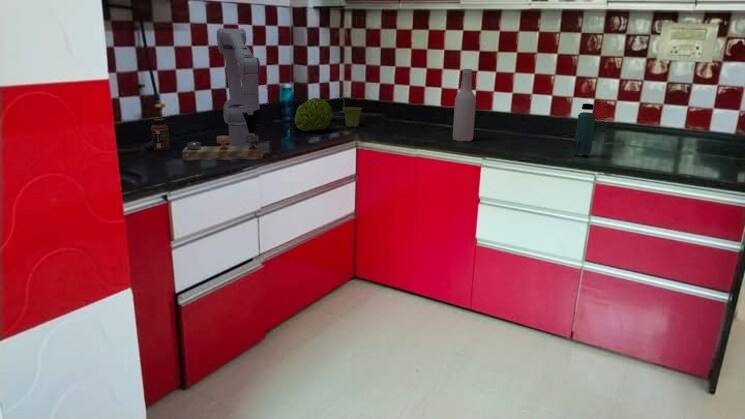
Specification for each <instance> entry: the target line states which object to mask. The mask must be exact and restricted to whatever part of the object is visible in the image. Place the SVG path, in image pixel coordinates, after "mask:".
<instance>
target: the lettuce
mask: <svg viewBox="0 0 745 419" xmlns="http://www.w3.org/2000/svg"><path fill="white" fill-rule="evenodd" d="M332 118H333V112H332V107H331V105H330V104H329V103H328V101H326V100H323V99H321V98H319V97H313V98H312V97H311V98H310V99H308V100H306V101H305V102H303V103H300V105H299V106H298V108H296V112H295V116H294V124H295V126H296V128H297V129H299V130H301V131H302V132H304V131H305V132H310V131H311V132H318V131H321V130H325V129H327V127H329V124H330V123H331V120H332Z"/></svg>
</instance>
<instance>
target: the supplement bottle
mask: <svg viewBox="0 0 745 419" xmlns="http://www.w3.org/2000/svg"><path fill="white" fill-rule="evenodd" d="M152 122H153V124H152V125H151V128H150V130H151V142H152V143H151V144H152V149H153V150H154V151H168V150H170V148H171V146H170V145H171V144H170V143H171V142H170V134H169V133H170V132H169V131H170V130H169V126H168V124H166V119H165V118H154V119H153V121H152Z"/></svg>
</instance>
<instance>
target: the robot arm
mask: <svg viewBox="0 0 745 419" xmlns="http://www.w3.org/2000/svg"><path fill="white" fill-rule="evenodd" d="M245 30H246V29H245ZM245 30H244V28H221V27H219V28H218V29H217V30H216V41H217V50H218V52H219V54H221V55H222V56H223V59H224V64H225V70H226V71H225V72H226V79H227V88H228V95H229V99H227V100H226V101H225V102H224V104H223V107H222V108H223V119H224V122H225V123H226V124H227V125H228V136H229V137H230V143H229V144H228V145H227V144H226V146H250V143H246V136H256V129H257V122H258V117H259V115H260V111H258V110H260V109H261V106H260V94H259V93H260V91H259V89H260V88H259V75H260V73H261V62H260V59H259V57H256V56H254V55H253V53H252V52H251V51H252V50H251V49H250V48H249V47H248V46H247V44H246V43H247V33H246V31H245ZM255 146H258V145H257V144H255Z"/></svg>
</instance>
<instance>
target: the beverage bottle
mask: <svg viewBox="0 0 745 419" xmlns="http://www.w3.org/2000/svg"><path fill="white" fill-rule="evenodd" d="M594 108H595V106H594V104H593V103H587V102H586V103H582V106H581V110H584V111H585V110H586V111H585V112H584V111H582V112H580V113H579V114H577V123H576V127H575V128H576V129H575V137H574V138H575V139H574V143H573V150H572V151H573V152H574V153H575V154H582V155H589V154H591V153H592V148H593V147H592V146H593V138H594V128H595V122H596V114H594V113H593V112H588V111H593V110H594Z"/></svg>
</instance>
